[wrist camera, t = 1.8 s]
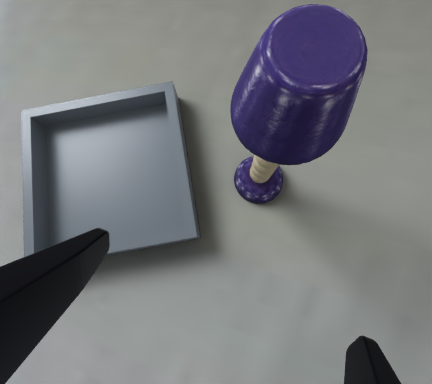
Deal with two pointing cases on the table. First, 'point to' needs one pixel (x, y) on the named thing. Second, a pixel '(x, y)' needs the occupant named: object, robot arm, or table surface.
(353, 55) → the toy lamp
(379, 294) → the table surface
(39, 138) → the desk tray
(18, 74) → the table surface
